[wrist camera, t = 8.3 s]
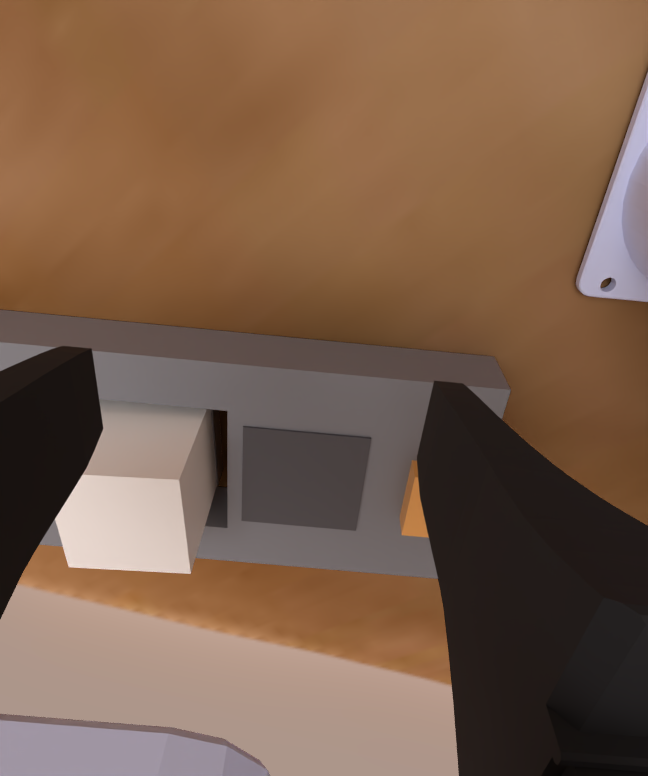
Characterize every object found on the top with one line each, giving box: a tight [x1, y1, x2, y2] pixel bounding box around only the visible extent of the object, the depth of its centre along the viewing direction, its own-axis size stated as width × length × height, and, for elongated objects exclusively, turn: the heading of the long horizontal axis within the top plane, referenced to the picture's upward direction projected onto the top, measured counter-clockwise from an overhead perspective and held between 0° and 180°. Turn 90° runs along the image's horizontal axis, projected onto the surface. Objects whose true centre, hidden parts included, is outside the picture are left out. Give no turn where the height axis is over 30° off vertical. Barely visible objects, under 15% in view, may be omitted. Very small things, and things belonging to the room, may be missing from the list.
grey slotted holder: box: [0, 310, 511, 579], centre depth 22 cm, size 20×10×4 cm, turn 85°
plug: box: [55, 399, 223, 574], centre depth 21 cm, size 4×4×6 cm
